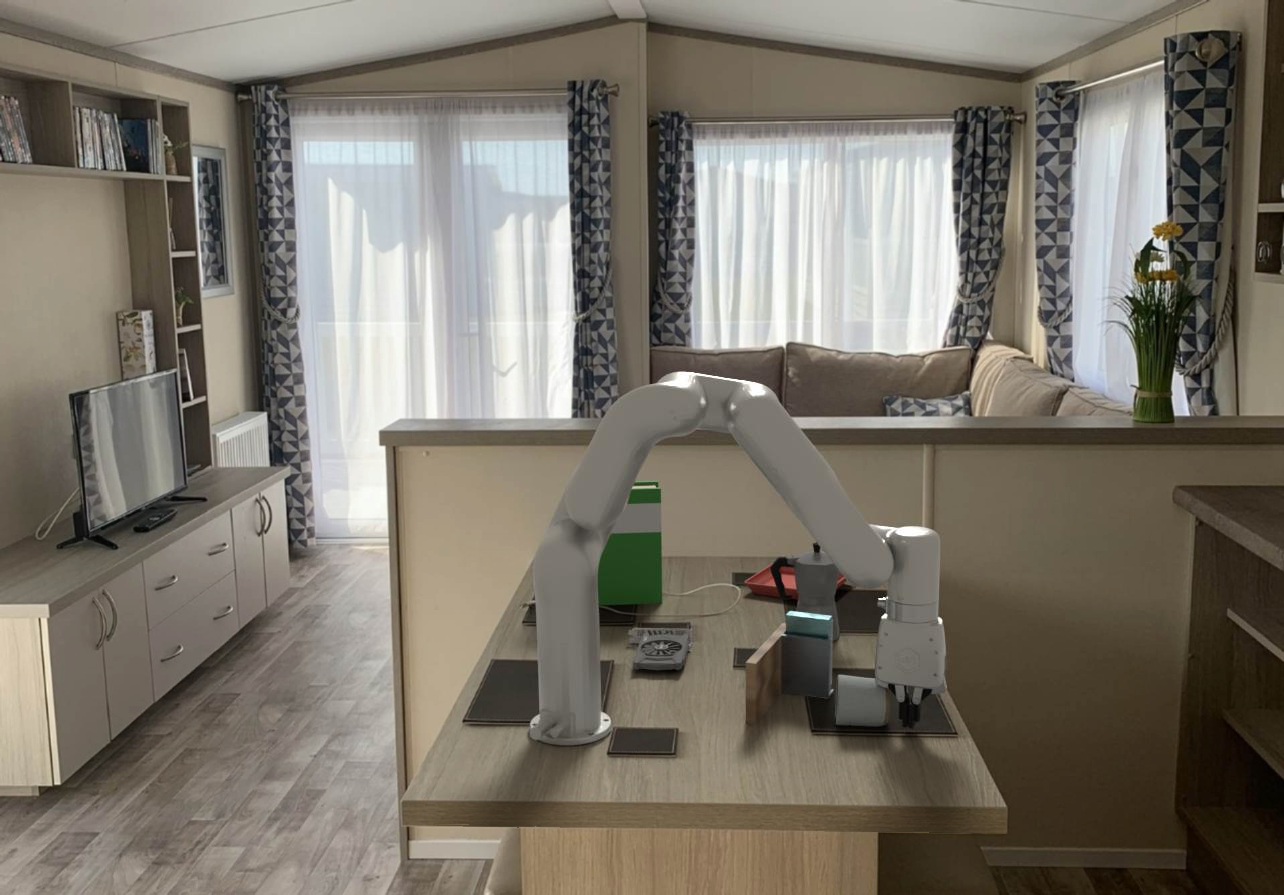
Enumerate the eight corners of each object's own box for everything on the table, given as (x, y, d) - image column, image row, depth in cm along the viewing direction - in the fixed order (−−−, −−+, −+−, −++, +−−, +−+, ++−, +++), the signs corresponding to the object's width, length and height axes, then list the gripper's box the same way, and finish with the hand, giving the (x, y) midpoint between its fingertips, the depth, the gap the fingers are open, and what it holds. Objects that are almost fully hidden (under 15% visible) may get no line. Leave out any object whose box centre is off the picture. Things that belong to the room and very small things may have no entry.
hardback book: (659, 592, 261) (657, 480, 256) (662, 603, 254) (660, 488, 249) (575, 595, 260) (572, 483, 255) (575, 606, 252) (572, 490, 248)
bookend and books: (828, 699, 202) (829, 623, 200) (781, 692, 205) (781, 617, 203) (837, 686, 208) (838, 612, 205) (791, 680, 211) (791, 607, 208)
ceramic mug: (890, 734, 189) (891, 686, 187) (836, 732, 190) (837, 684, 188) (884, 708, 199) (885, 662, 198) (832, 706, 200) (833, 661, 199)
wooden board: (755, 724, 193) (755, 663, 191) (745, 723, 193) (745, 662, 192) (791, 680, 211) (791, 623, 209) (782, 678, 211) (782, 622, 210)
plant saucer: (742, 596, 259) (742, 580, 258) (776, 573, 274) (776, 559, 273) (824, 608, 250) (825, 592, 249) (854, 584, 265) (855, 569, 265)
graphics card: (629, 625, 231) (693, 626, 229) (630, 645, 231) (694, 645, 230) (615, 659, 214) (685, 659, 213) (616, 679, 215) (685, 680, 213)
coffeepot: (841, 625, 239) (843, 534, 235) (857, 641, 229) (859, 547, 226) (763, 630, 236) (764, 538, 233) (776, 646, 227) (777, 551, 224)
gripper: (857, 611, 185) (855, 726, 189) (959, 622, 180) (955, 741, 183) (868, 597, 192) (866, 708, 196) (967, 607, 186) (963, 722, 190)
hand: (909, 724), depth 189 cm, fingers closed
